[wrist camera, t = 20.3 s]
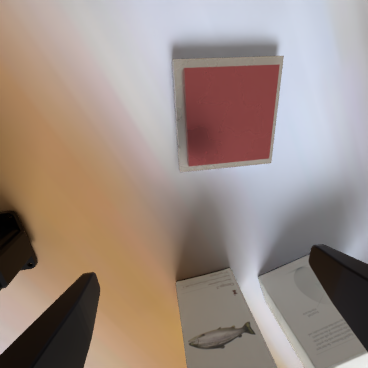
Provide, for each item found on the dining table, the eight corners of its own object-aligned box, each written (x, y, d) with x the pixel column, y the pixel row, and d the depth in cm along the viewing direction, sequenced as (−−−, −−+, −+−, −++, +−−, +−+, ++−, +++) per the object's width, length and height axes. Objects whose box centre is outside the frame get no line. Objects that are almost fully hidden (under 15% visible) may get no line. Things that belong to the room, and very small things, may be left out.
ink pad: (179, 169, 19) (181, 174, 18) (171, 61, 16) (174, 57, 14) (265, 160, 20) (275, 165, 19) (276, 58, 17) (289, 53, 15)
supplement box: (230, 265, 25) (300, 403, 13) (234, 304, 28) (294, 446, 16) (173, 279, 24) (194, 437, 13) (183, 318, 27) (207, 475, 16)
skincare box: (266, 304, 29) (323, 403, 19) (256, 275, 26) (317, 373, 17) (331, 276, 29) (421, 361, 19) (328, 245, 26) (429, 324, 17)
